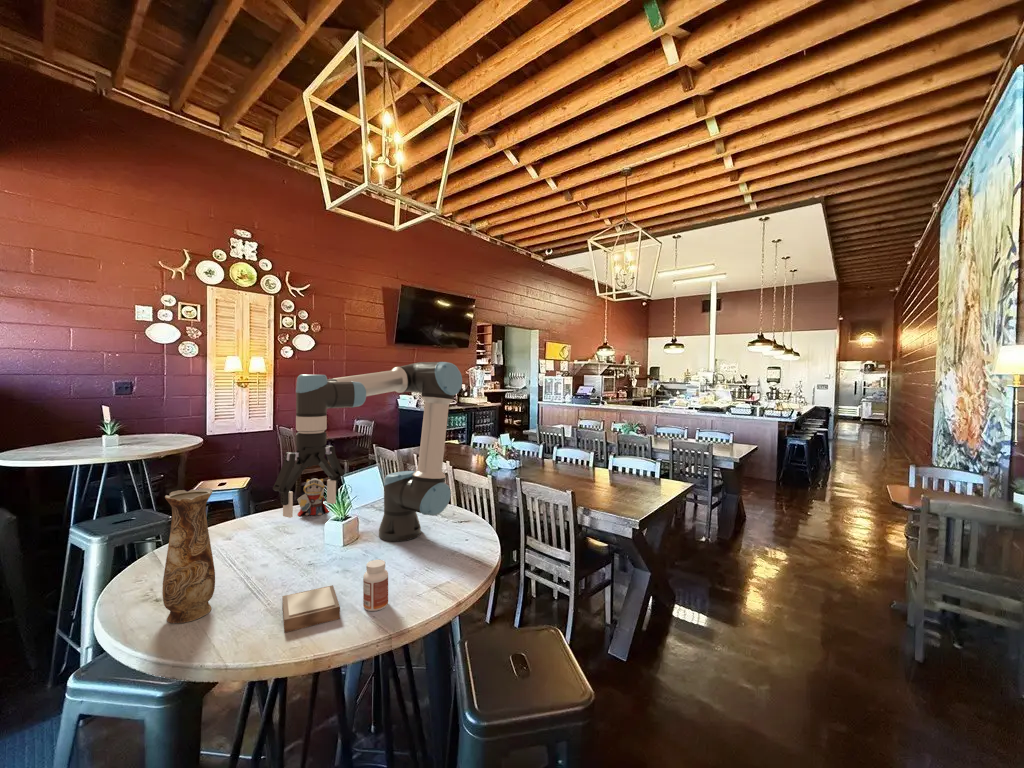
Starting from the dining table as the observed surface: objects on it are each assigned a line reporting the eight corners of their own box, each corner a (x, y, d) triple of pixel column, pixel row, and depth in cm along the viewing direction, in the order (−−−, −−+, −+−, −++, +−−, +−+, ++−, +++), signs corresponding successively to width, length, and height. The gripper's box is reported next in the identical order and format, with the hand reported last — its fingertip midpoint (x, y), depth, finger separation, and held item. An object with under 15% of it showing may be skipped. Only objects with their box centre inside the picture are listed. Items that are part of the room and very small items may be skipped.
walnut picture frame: (332, 596, 116) (333, 584, 116) (339, 618, 105) (339, 605, 105) (282, 607, 110) (282, 594, 110) (284, 632, 99) (284, 618, 99)
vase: (161, 630, 99) (160, 501, 99) (164, 609, 108) (163, 490, 107) (215, 616, 105) (215, 494, 105) (214, 597, 114) (214, 485, 113)
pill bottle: (390, 599, 115) (391, 558, 115) (385, 612, 109) (385, 568, 108) (366, 599, 115) (367, 558, 114) (360, 612, 108) (360, 568, 108)
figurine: (291, 518, 175) (291, 482, 175) (302, 509, 187) (302, 475, 186) (324, 518, 177) (324, 482, 176) (333, 509, 188) (333, 475, 188)
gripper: (338, 425, 129) (338, 496, 130) (257, 435, 107) (257, 520, 108) (357, 427, 126) (356, 499, 126) (277, 438, 104) (276, 525, 104)
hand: (310, 509), depth 117 cm, fingers open, 13 cm apart
